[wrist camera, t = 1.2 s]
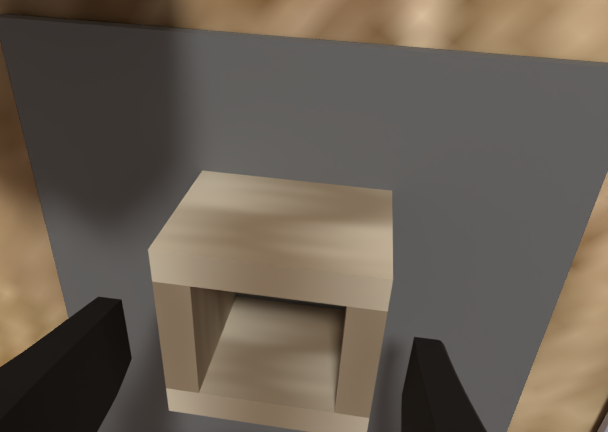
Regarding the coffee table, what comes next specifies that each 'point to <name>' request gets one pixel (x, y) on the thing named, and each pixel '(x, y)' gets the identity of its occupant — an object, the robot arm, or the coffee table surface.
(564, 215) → the mat
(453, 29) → the coffee table surface
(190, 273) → the collar
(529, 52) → the coffee table surface
